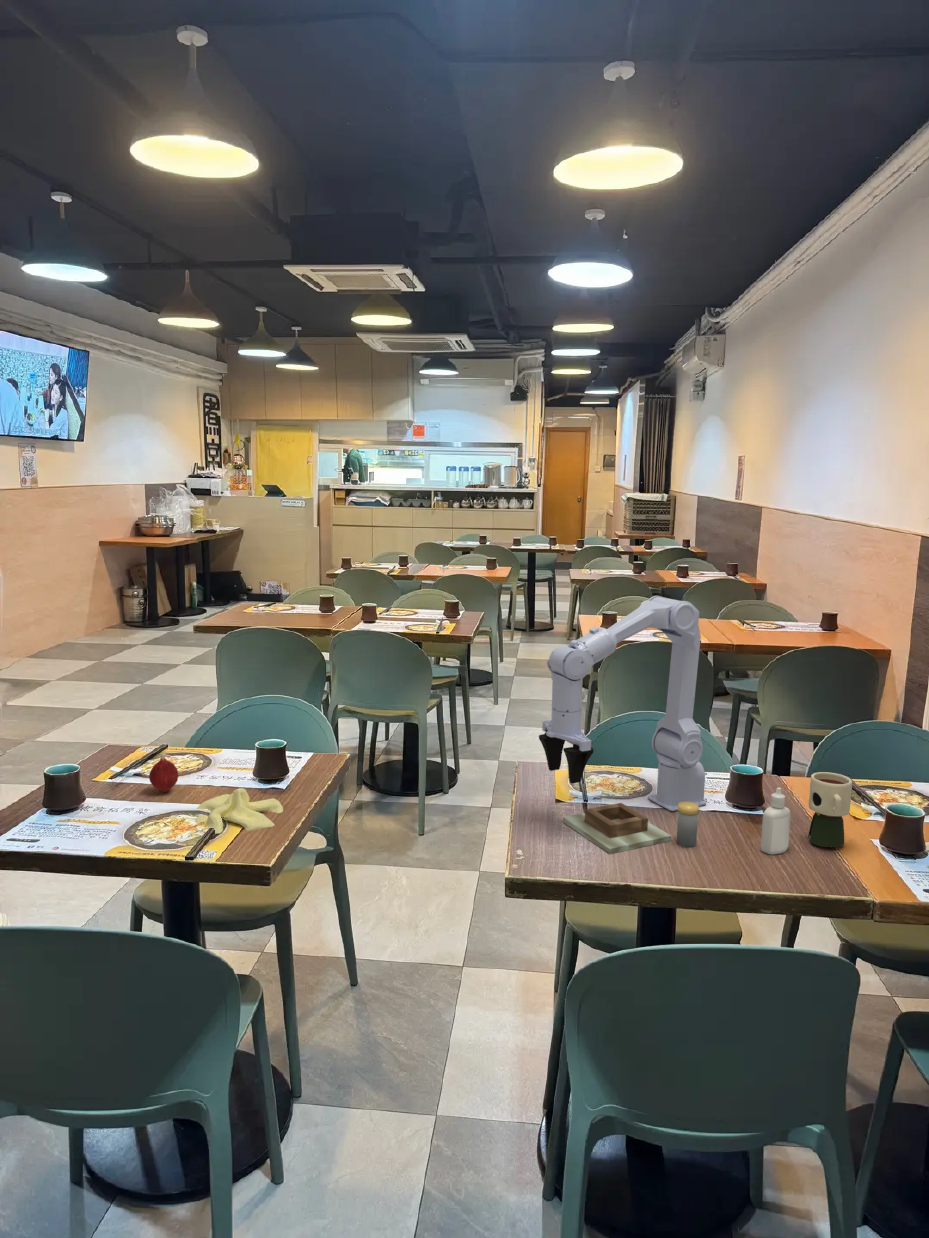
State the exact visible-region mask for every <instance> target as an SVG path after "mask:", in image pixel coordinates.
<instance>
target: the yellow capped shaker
mask: <svg viewBox="0 0 929 1238" xmlns="http://www.w3.org/2000/svg"><path fill="white" fill-rule="evenodd" d="M699 808H700V806H698V805H697V804H696V803H693V802H680V803H679V804H678V810H677V825H676V826H677V827H676V844H677V845H678V846H680V847H683V848H694V847H696V846H697V837H698V822H699V810H700V809H699Z"/></svg>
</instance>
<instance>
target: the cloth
mask: <svg viewBox="0 0 929 1238" xmlns="http://www.w3.org/2000/svg"><path fill="white" fill-rule="evenodd" d="M250 799H251V797H250V796H249V794H248V792H247V790H246V789H245V788H243V787H239V788H236V789H234V790H233V792H232V793H231V794H228V793H225V794H220V795H218V796H215V797H212V798H209V799H208V800H205V801H203V802H202V803H200V804H199V805H198V806H197V808H196V810H198V809H208V810H207V811H209V810H210V812H209V815H206V814H199V815H198V817H197V818H196V819H195V823H196V824H198V825H199V824H200V823H202V822H204V821H206V820H207V821H206V823H205V825H206V830H208V829H209V828H214V830H215V834H221V833H222V832H223V830H224V824H223V820H222V818H221V817H224V818H223V819H224V820H225V821H224V822H230V823H234V824H238V825H241V826H242V827H243V828H244V830H245V831H246V832H253V831H257V830H262V829H268V828H273V827H275V823H274V822H273V821H272V820H271V819H269V818H268V817H267V816H266V815H265V814H263V813H266V812H267V813H270V812H272V813H274V814H275V813H277V814H281V813H283V812H284V807H283V805H282V804H281V802H280V801H279V799H276V798H274V797H272V798H268V799H263V800H257V801H250ZM215 834H214V835H215Z"/></svg>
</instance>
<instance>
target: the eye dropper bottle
mask: <svg viewBox="0 0 929 1238" xmlns="http://www.w3.org/2000/svg"><path fill="white" fill-rule="evenodd" d="M761 823H762V824H761V835H760V836H761V838H760V851H761V852H762V853H765V854H767V855H780V854H783V853H784V852H786V851H787V850H788V849H789V842H790V841H789V840H790V828H791V827H790V826H791V810H790V809H789V808H788V807H786V795H784V794H783V792H782V788H781V787H776V789H775V792H773V793H771V794H770V805H769V806H768V807H767V808H766V809H765V810H764V811H763V813H762V822H761Z"/></svg>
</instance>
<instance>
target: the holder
mask: <svg viewBox="0 0 929 1238" xmlns="http://www.w3.org/2000/svg"><path fill="white" fill-rule="evenodd" d="M562 823H564V824H565V825H567V826H568V827H570V828H571V829H573V830H574V831H576V832H577V833H579V835H581V836H582V837H584V838H586V839H587V840H589V841H590V842H592V843H593V844H594V845H596V846H597V847H598V848H600V849H602V850H603V851H605V852H606V853H607V854H609V855H611V854H616V852H617V853H622V852H625V851H630V850H634V849H639V848H643V847H645V848H646V847H648V846H653V845H658V844H663V843H667V842H671V841H672V835H671V834H669V833H668V832H666V831H664V830H662V829H660V828H658V827H657V826H655V824H653V823H650V822H649V818H648V817H646V816H645V815H643V814H642V813H640V812H638V811H636V810H634V809H632V808H631V807H629V806H627V805H626V804H625V803H622V802H618V803H613V804H607V805H602V806H596V807H591V808H586V809H585V810H584V812H583V813H582V812H581V813H576V814H571V815H566V816H562Z"/></svg>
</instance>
